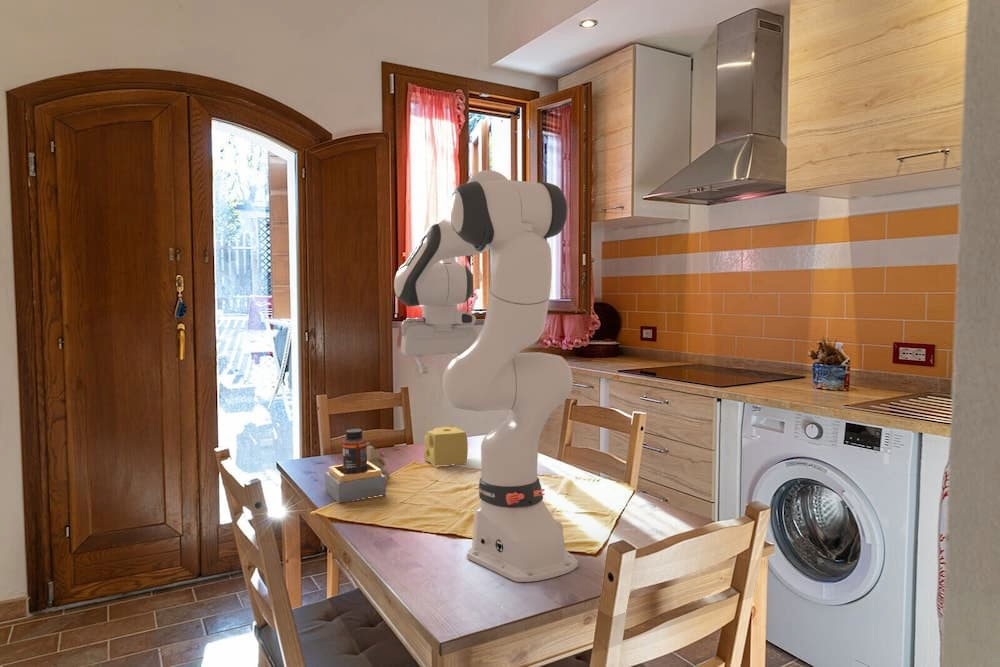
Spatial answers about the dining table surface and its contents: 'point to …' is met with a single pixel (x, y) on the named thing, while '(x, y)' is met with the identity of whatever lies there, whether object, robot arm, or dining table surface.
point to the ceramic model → (376, 459)
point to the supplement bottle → (354, 452)
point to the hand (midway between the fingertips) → (440, 372)
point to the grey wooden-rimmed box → (355, 483)
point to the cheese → (446, 446)
